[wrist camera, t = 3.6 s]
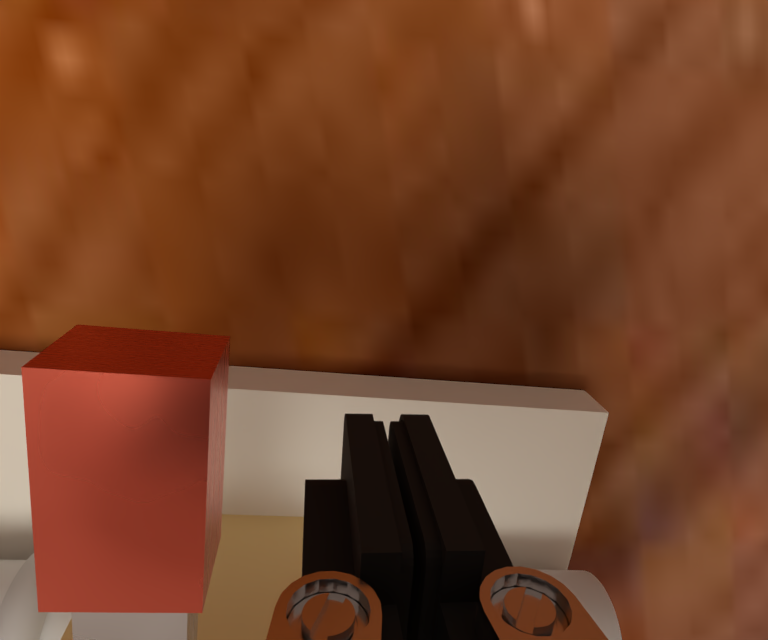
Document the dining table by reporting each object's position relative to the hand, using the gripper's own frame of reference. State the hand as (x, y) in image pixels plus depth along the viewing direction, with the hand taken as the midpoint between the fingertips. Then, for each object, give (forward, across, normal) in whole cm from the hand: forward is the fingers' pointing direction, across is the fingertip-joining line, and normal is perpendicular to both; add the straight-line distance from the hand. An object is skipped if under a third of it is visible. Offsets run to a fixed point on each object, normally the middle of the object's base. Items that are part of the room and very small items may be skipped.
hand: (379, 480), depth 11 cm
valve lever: (0, +4, +4) cm, 6 cm away
